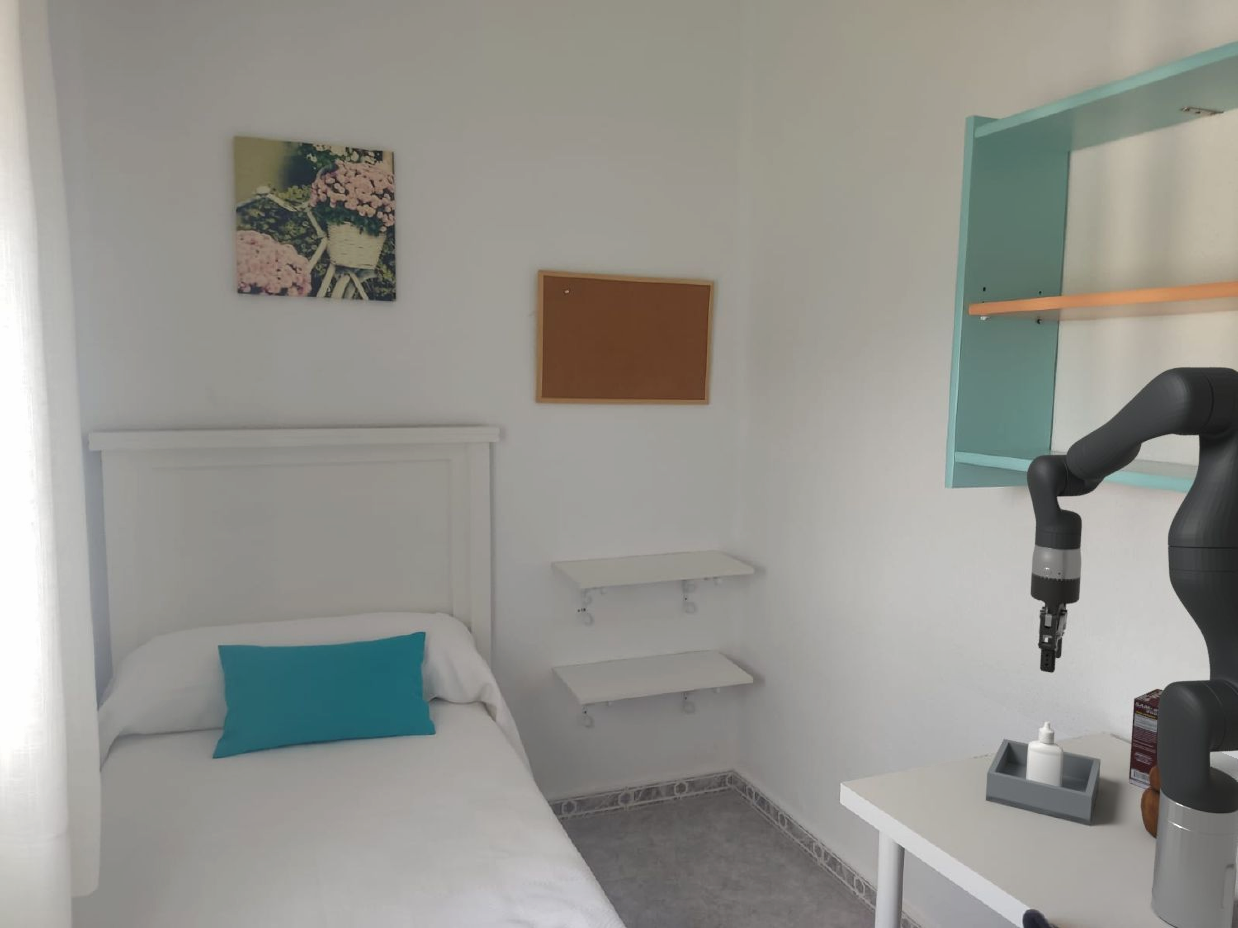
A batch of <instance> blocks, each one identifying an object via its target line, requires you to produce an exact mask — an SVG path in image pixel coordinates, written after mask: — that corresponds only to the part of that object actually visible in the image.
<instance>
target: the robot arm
mask: <svg viewBox="0 0 1238 928" xmlns="http://www.w3.org/2000/svg"><path fill="white" fill-rule="evenodd" d="M1168 435H1177V436H1184V437H1185V436H1198V447H1199V448H1198V449H1199V450H1198V465H1197V472H1196V473H1195V474H1196V475H1195V478H1194V480H1193V482H1192V485H1191V487H1189V490H1188V492H1187V494H1186V496H1185V497H1184V498H1183V501H1182V502H1181V504H1180V505H1179V507H1178V509H1177V510H1176V513H1175V515H1174V516H1173V518H1172V521H1171V524H1170V527H1169V529H1168V535H1167V556H1168V557H1167V558H1168V576H1169V581H1170V584H1171V587H1172V589H1173V591H1174V593H1175V594H1176V597H1177V598H1178V599H1179V602H1181V604H1182V605H1183V607H1184V608H1185V610H1186V611H1187V613H1188V614H1189V616H1190V617H1191V619H1192V620H1193V621H1194V623H1195V624H1196V626H1197V628H1198V629H1199V631H1200V633H1201V635H1202V637H1203V639H1204V642H1205V645H1206V649H1207V655H1208V662H1209V679H1202V680H1201V679H1199V680H1182V681H1181V680H1180V681H1178V680H1177V681H1173V682H1171V683H1169V684H1167V685H1166V686H1165V687H1164V688H1163V689H1162V690H1163V692H1162V694H1161V696H1160V700H1159V706H1158V739H1157V762H1158V768H1159V772H1160V777H1161V785H1160V800H1159V813H1158V825H1157V837H1156V838H1155V839H1156V840H1155V851H1154V852H1155V853H1154V863H1153V864H1154V865H1153V876H1152V887H1151V901H1150V903H1151V904H1150V905H1151V908H1152V910H1153V912H1154V913H1155V914H1156V915H1157V916H1158V917H1159V918H1160V919H1162V921H1164V922H1165V923H1167V924H1169V925H1171V926H1173V927H1176V928H1233V917H1234V905H1235V892H1236V883H1237V882H1236V881H1237V853H1238V780H1237V779H1236V778H1234V777H1233V776H1231V775H1229V774H1228V773H1226V772H1224V771H1222V770H1220V769H1219V768H1216V767H1212V766H1211V753H1219V752H1222V753H1223V752H1234V751H1235V752H1236V751H1238V370H1236V369H1234V368H1229V367H1218V366H1209V367H1206V366H1205V367H1204V366H1199V367H1198V366H1194V367H1193V366H1191V367H1190V366H1183V367H1182V366H1181V367H1180V366H1179V367H1174V368H1169V369H1166V370H1164V371H1162V372H1160V373H1159V374H1158V375H1156V376H1154V378H1152V379H1151V380H1150V381H1149V382H1148V383H1147V384H1146V385H1145V386H1144V387H1143V388H1142V389H1141V390H1140V391H1139V392H1138V393H1136V395H1134V396H1133V398H1131V400H1129V401H1128V402H1127V403H1126V404H1125V405H1124V406H1123V407H1122V408H1121V409H1120V410H1119V411H1118V412H1117V413H1116V414H1115V415H1114V416H1113V417H1112V418H1111V419H1110V420H1108V421H1107V422H1105V423H1104V424H1102V425H1101V426H1100V427H1098V428H1096V429H1094V430H1092V432H1089V433H1088V434H1086V435H1085V436H1082V437H1081V438H1079V439H1078V440H1076V441H1075V442H1074V443H1073V444H1071V446H1070V447H1069V448H1068V450H1067V452H1066V454H1042V455H1039V456H1037V457H1035V458H1034V459H1033V460H1032V461H1031V462H1030V463H1029V466H1028V468H1027V471H1026V481H1027V487H1028V491H1029V492H1028V493H1029V495H1030V498H1031V503H1032V508H1033V512H1034V513H1033V514H1034V518H1035V534H1034V536H1035V537H1034V547H1033V553H1032V560H1031V576H1030V580H1031V581H1030V596H1031V598H1033V599H1035V600H1037V601H1041V602H1043V603H1044V606H1041V609H1040V610H1039V614H1038V618H1039V627H1038V634H1039V635H1038V643H1037V646H1038V649H1040V661H1039V662H1040V663H1039V670H1040V671H1042V672H1045V673H1050V674H1052V673H1055V670H1056V659H1061V657H1062V650H1063V649H1062V648H1063V637H1064V635H1065V630H1066V629H1067V621H1068V620H1067V619H1068V615H1069V611H1068V609H1067V605H1071V604H1075V603H1077V602H1079V600H1080V594H1081V577H1082V576H1081V575H1082V573H1081V572H1082V552H1081V549H1082V529H1083V520H1082V516H1081V515H1080V513H1077V512H1075V511H1073V510H1068V509H1063V508H1061V506H1060V504H1059V500H1058V498H1061V497H1080V496H1084V495H1085V496H1086V495H1087V494H1091V493H1093V492H1094V491H1095V490H1096V489H1097V488H1098V487H1099V485H1100V484H1101V483H1102V482H1103V481H1104V479H1105V478H1106V477H1109V476H1110V475H1113V474H1114V473H1116V472H1118V471H1120V470H1122V469H1124V468H1125V467H1127V466H1128V465H1130V464H1132V462H1133V461H1134V460H1135V459H1136V458H1137V457H1138V455H1139V453H1140V451H1141V448H1142V444H1143V443H1145V442H1147V441H1149V440H1152V439H1156V438H1159V437H1165V436H1168ZM1046 638H1047V641H1046Z"/></svg>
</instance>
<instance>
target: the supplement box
mask: <svg viewBox="0 0 1238 928" xmlns="http://www.w3.org/2000/svg"><path fill="white" fill-rule="evenodd" d="M1163 690H1164V689H1160V688H1155V689H1153V690H1151V691H1149V692H1146V693H1144V694H1142V695H1140V696H1138V697H1135V698H1134V699H1133V710H1132V713H1133V714H1132V724H1131V725H1132V726H1131V727H1132V728H1131V729H1132V730H1131V743H1130V755H1129V756H1130V757H1129V760H1130V761H1129V771H1128V774H1129V775H1128V783H1129V782H1130V783H1129V784H1131V783H1132V784H1131V785H1134V786H1136V785H1137V787H1138V788H1142V789H1144V790H1145V789H1147V788H1148V787H1150V786H1151V785H1150V782H1149V773H1150V771H1151V768H1152V767H1154V766H1155V765H1156V763H1157V739H1158V706H1159V700H1160V696H1161V694H1162V692H1163Z"/></svg>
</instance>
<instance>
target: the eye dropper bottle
mask: <svg viewBox="0 0 1238 928" xmlns="http://www.w3.org/2000/svg"><path fill="white" fill-rule="evenodd" d="M1050 724H1051V723H1050V722H1049V721H1045V722H1044V725H1043V726H1042V727H1039V729H1038V739H1037V740H1031V741H1030V742H1028V744H1029V745H1028V755H1027V771H1026V779H1028V780H1032V781H1037V782H1041V783H1045V784H1050V785H1054V786H1058V787H1061V785H1062V769H1063V751H1064V748H1062V746H1061V745H1059V744H1058V743H1056V742H1055V730H1054V729H1053V728H1051V725H1050Z"/></svg>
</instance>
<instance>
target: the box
mask: <svg viewBox="0 0 1238 928" xmlns="http://www.w3.org/2000/svg"><path fill="white" fill-rule="evenodd" d="M1028 745H1029V743H1025V742H1021V741H1016V740H1011V739H1006V738H1003V740H1002V742H1001V744H1000V746H999V748H998V749H997V752H996V754H995V757H994V758H993V760H992V763H991V764H990V765H989V768H988V769H987V772H986V790H985V792H986V793H985V801H987V802H990V803H991V802H993V803H996V804H999V805H1005V806H1007V807H1012V808H1016V809H1020V810H1024V811H1028V812H1032V813H1037V814H1041V815H1045V816H1047V817H1048V816H1049V817H1052V818H1056V819H1061V820H1065V821H1069V822H1072V823H1076V824H1081V825H1085V826H1089V827H1090V826H1091V821H1092V817H1093V813H1094V808H1095V806H1096V805H1095V803H1096V800H1097V795H1098V790H1099V786H1100V775H1101V773H1100V772H1101V761H1102V760H1101V758H1097V757H1092V756H1087V755H1082V754H1078V753H1073V752H1068V751H1064V750H1063V769H1062V785H1061V787H1058V786H1054V785H1050V784H1045V783H1041V782H1037V781H1032V780H1028V779H1026V771H1027V755H1028Z"/></svg>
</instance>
